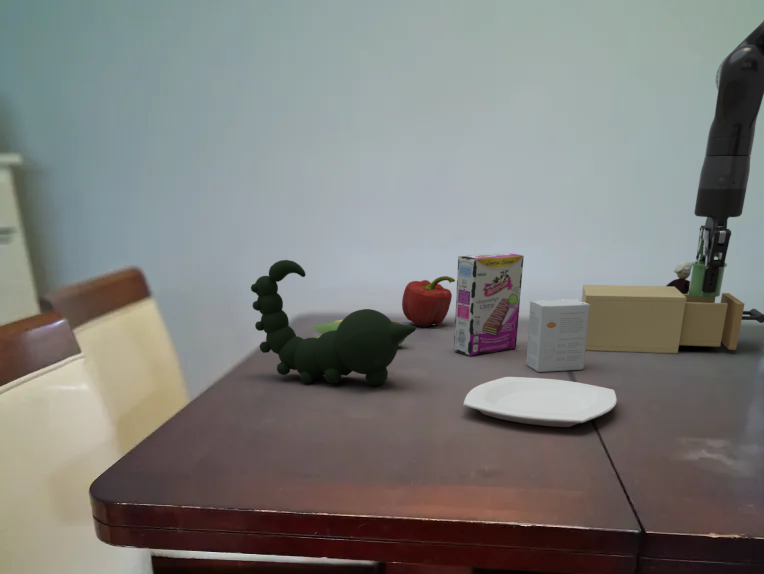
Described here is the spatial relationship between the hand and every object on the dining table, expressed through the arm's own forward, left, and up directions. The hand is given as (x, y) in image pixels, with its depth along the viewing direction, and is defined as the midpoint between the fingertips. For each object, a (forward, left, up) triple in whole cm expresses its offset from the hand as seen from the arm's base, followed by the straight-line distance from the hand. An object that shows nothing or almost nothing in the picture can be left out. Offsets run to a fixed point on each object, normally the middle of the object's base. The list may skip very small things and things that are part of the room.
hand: (704, 289), depth 132 cm
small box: (+25, +21, -10) cm, 34 cm away
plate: (+27, +46, -10) cm, 54 cm away
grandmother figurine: (0, -22, -10) cm, 24 cm away
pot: (0, 0, -1) cm, 1 cm away
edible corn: (+61, +8, -10) cm, 63 cm away
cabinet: (+12, 0, -10) cm, 16 cm away
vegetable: (+51, -13, -10) cm, 54 cm away
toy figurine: (+58, +36, -10) cm, 69 cm away
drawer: (0, 0, -9) cm, 9 cm away
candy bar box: (+37, +10, -10) cm, 40 cm away
